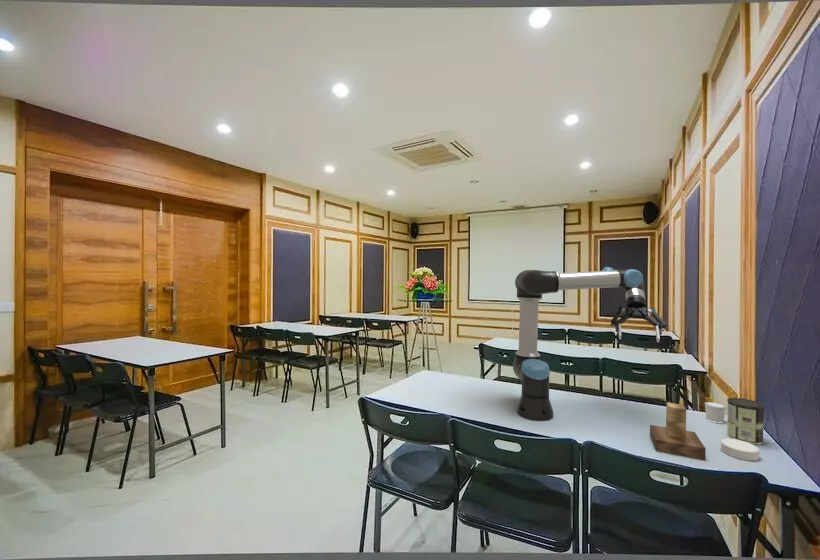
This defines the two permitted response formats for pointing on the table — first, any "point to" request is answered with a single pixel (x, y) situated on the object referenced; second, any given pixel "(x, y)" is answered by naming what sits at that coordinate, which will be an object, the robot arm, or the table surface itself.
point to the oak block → (676, 421)
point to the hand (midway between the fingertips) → (638, 339)
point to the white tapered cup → (715, 411)
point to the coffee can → (745, 420)
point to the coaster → (740, 449)
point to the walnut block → (677, 443)
